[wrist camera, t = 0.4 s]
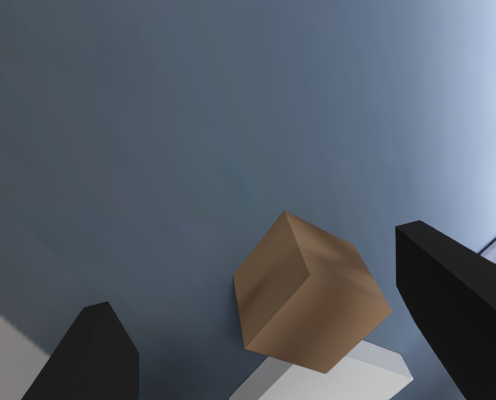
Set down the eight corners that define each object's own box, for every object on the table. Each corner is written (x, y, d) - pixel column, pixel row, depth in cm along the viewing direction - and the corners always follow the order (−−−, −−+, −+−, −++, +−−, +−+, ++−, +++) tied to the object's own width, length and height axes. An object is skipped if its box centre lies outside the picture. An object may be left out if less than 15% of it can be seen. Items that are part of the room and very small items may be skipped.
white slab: (400, 354, 29) (413, 379, 27) (323, 421, 32) (330, 447, 30) (304, 318, 25) (313, 344, 24) (228, 398, 29) (231, 425, 27)
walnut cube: (353, 244, 23) (392, 311, 18) (300, 301, 25) (325, 374, 20) (284, 209, 21) (310, 275, 16) (232, 274, 23) (244, 348, 18)
